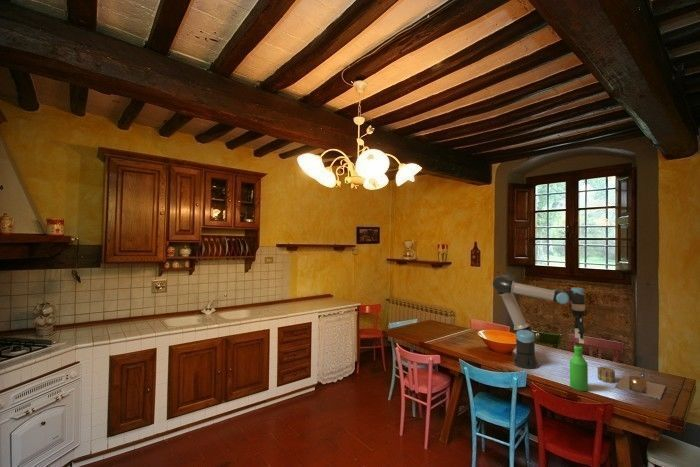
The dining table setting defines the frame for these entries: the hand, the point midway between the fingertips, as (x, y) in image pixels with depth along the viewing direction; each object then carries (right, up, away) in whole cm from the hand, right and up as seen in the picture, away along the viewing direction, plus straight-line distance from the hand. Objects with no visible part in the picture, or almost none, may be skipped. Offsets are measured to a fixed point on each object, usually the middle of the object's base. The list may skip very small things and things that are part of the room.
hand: (579, 340), depth 231 cm
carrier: (+15, -18, -31) cm, 39 cm away
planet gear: (+2, -18, -21) cm, 28 cm away
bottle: (-23, -18, -33) cm, 44 cm away
